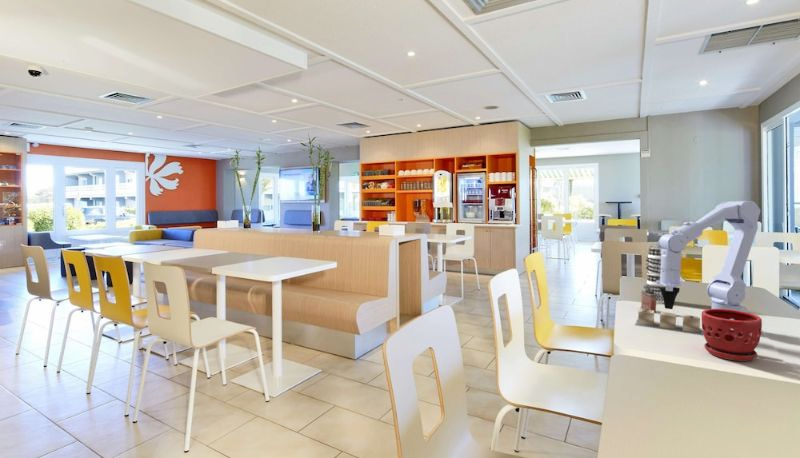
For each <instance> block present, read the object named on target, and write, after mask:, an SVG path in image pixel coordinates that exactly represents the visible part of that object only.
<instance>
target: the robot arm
mask: <svg viewBox="0 0 800 458" xmlns="http://www.w3.org/2000/svg"><path fill="white" fill-rule="evenodd" d="M760 213H761V209H760V207H759V206H758V204H757V203H756V202H755V201H753V200H736V201H735V200H734V201H733V200H732V201H731V200H725V201H723V202H721V203H719V204H717V205H716V206H715V208H714V209H712V210H711V211H710V212H708V213H706V214H705V215H704V216H702V217H701V218H700V219H698V220H696V221H685V222H683V223H682V226H680V227H679V228H676V229H673V230H671V232H670V233H665V234H663V235H661V236H660V237H659V239H658V241H657V245H658V247H659V248H660V250H661V252H660V253H661V271H660V281H658V280H657V281H656V283H660V284H661V285H663V286H665V287H660V291H661V293H662V295H663V299H664V303H663V304H664V308H665V310H666V309H667V310H673V309H674V306H675V305H674V304H675V302H676V298H677V296H678V294H679V293H680V290H681V289H680V286H681V284H682V283H681V269H682V266H681V265H682V252H683V251H684V250H685V249H686V247H687V245H688V244H690V243H691V242H693V241H694V240H696V239H697V238H699V237H700V236H702V235H703V233H704V232H703V231H704V230H706V229H708V228H710V227H712V226H714V225H716V224H717V223H718V222H722V220H725V222H727V223H728V224H730V225H731V226H732V227H733V229H734V230H735V231H734V233H733V237H732V239H731V243H730V245H729V248H728V252H727V254H726V257H725V259H724V263H723V266H722V268H721V271H720V273H718V274H716V275H715V276H712V280H711V282H710V283H709V284H708V285H707V287H706V293H707V295H708V297H710V301H711V308H710V309H728V310H736V311H742V312H747V313H749V311H748V308H747V307H746V306H744V305H741V303H743V302H744V300H745V298H746V292H745V291H746V286H747V284H746V283H745V281H744V280H743V279H742V275H743V272H744V269H745V266H746V264H747V260H748V258H749V256H750V252H751V248H752V246H753V242H754V240H755V238H756V234H757V231H758V228H759V227H758V220H759V217H760ZM729 320H734V319H729ZM731 330H733V329H731Z"/></svg>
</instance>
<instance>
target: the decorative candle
mask: <svg viewBox="0 0 800 458" xmlns="http://www.w3.org/2000/svg"><path fill="white" fill-rule="evenodd" d="M660 252H661V250H660V248H659V247H658V244H656V243H655V244H651V245H650V246H649V247H648V254H647V256H646V259H645V261H646V262H647V263H645V264H646V267H645V269H646V270H647V271H646V274H647V280H646V284H645V285H646V286H649V287H653V288H654V293H655V294H657V297H656V304H657V303H660V304H664V299H663V295H662V293H661V291H660V287H665V286H663V285H661V284H660V283H656V281H657V280H658V281H660V271H661V253H660Z"/></svg>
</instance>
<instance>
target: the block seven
mask: <svg viewBox="0 0 800 458" xmlns="http://www.w3.org/2000/svg"><path fill="white" fill-rule="evenodd" d="M637 314H638V317H637V319H638V324H641V325H648V326H653V324H654V322H655V313H654V311H652V310H645V309H641V308H639V309H638V313H637Z"/></svg>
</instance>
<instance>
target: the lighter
mask: <svg viewBox="0 0 800 458" xmlns="http://www.w3.org/2000/svg"><path fill="white" fill-rule="evenodd" d="M643 289H644V290H641V306H640V309H641V308H642V309H645V310H652V311H654V314H656V313H657V303H656V297H657V294H655V293H654V288H653V287H649V286H646V284H644V285H643Z"/></svg>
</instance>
